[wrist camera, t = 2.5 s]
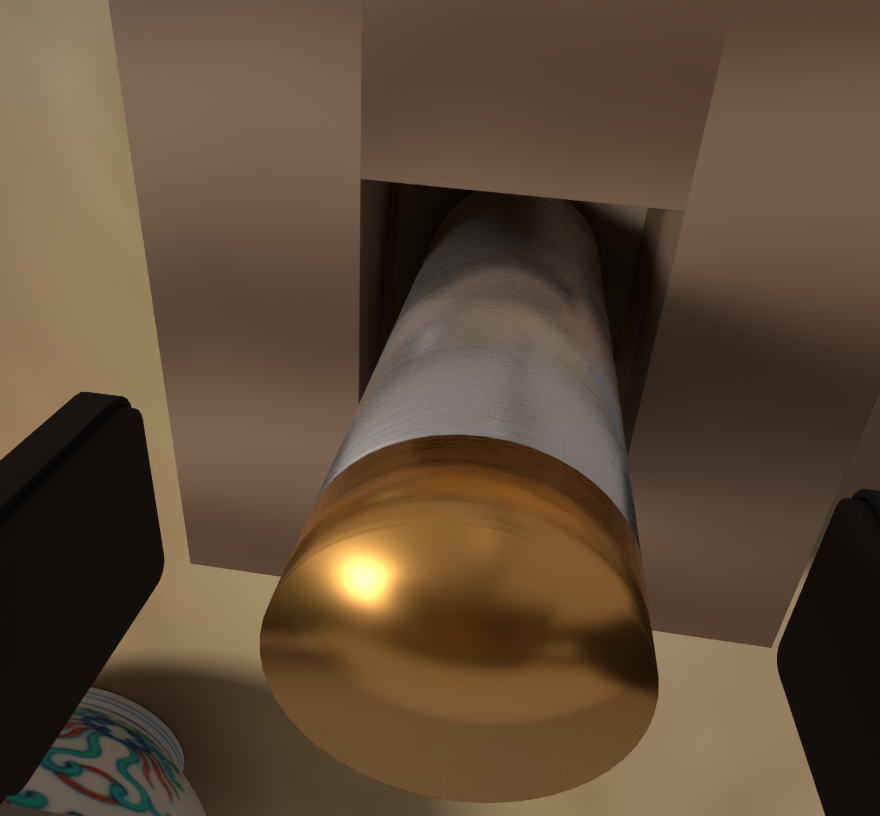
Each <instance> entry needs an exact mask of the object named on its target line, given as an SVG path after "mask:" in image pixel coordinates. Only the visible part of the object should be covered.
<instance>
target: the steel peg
mask: <svg viewBox="0 0 880 816" xmlns="http://www.w3.org/2000/svg"><path fill="white" fill-rule="evenodd" d="M260 655H261V661H262V667H263V671H264V674H265V677H266V679H267V682H268V685H269V688H270V689H271V691H272V693H273V695H274V697H275V699H276V701H277V702H278V704H279V705H280V707H281V708H282V710H283V711H284V712H285V714H286V715H287V716H288V718H289V719H290V720H291V721H292V722H293V723H294V725H295V726H296V727H297V728H298V729H299V730H300V731H301V732H302V733H303V734H304V735H305V736H306V737H307V738H309V739H310V740H311V741H312V742H313V743H314V744H315V745H317V746H318V747H319V748H320V749H322V750H323V751H325V752H326V753H327V754H329V755H330V756H332V757H333V758H335V759H336V760H338V761H339V762H341V763H343V764H345V765H346V766H348V767H350V768H351V769H353V770H355V771H357V772H359V773H361V774H363V775H366V776H368V777H370V778H372V779H374V780H377V781H379V782H382V783H385V784H387V785H390V786H393V787H395V788H398V789H402V790H405V791H409V792H412V793H416V794H420V795H425V796H429V797H434V798H439V799H446V800H454V801H462V802H480V803H496V802H514V801H523V800H531V799H536V798H541V797H545V796H550V795H554V794H557V793H561V792H564V791H567V790H570V789H573V788H575V787H578V786H580V785H582V784H585V783H587V782H589V781H592V780H593V779H595V778H597V777H598V776H600V775H602V774H604V773H605V772H607V771H609V770H610V769H611V768H613V767H614V766H615V765H616V764H618V763H619V762H620V761H622V760H623V759H624V758H625V757H626V756H627V755H628V754H629V753H630V752H631V751H632V750H633V749H634V748H635V747H636V746H637V744H638V743H639V741H640V740H641V738H642V737H643V735H644V734H645V732H646V731H647V729H648V727H649V725H650V722H651V720H652V718H653V715H654V713H655V708H656V704H657V699H658V678H659V677H658V670H657V663H656V656H655V649H654V642H653V635H652V628H651V621H650V613H649V606H648V599H647V592H646V585H645V578H644V571H643V564H642V557H641V550H640V543H639V535H638V528H637V521H636V514H635V507H634V500H633V493H632V486H631V479H630V472H629V465H628V458H627V450H626V443H625V436H624V429H623V422H622V415H621V408H620V401H619V394H618V387H617V380H616V372H615V365H614V358H613V351H612V344H611V337H610V330H609V323H608V316H607V309H606V302H605V295H604V287H603V280H602V273H601V266H600V259H599V253H598V247H597V243H596V240H595V237H594V234H593V232H592V230H591V228H590V226H589V224H588V223H587V221H586V220H585V218H584V217H583V215H582V214H581V213H580V212H579V211H578V210H577V208H576V207H575V206H573V205H572V204H571V203H570V202H569V201H568V200H566V199H558V198H548V197H538V196H528V195H518V194H507V193H497V192H487V191H477V192H475V193H473V194H471V195H469V196H468V197H466V198H465V199H463V200H462V201H461V202H459V203H458V204H457V205H456V206H455V207H454V208H453V209H452V210H451V211H450V212H449V213H448V215H447V216H446V217H445V218H444V220H443V221H442V223H441V225H440V227H439V228H438V230H437V232H436V235H435V237H434V239H433V241H432V244H431V246H430V248H429V250H428V252H427V255H426V257H425V259H424V261H423V264H422V266H421V268H420V270H419V272H418V275H417V277H416V279H415V281H414V283H413V286H412V288H411V290H410V292H409V295H408V297H407V299H406V301H405V303H404V306H403V308H402V310H401V312H400V315H399V317H398V319H397V321H396V323H395V326H394V328H393V330H392V332H391V335H390V337H389V339H388V341H387V343H386V346H385V348H384V350H383V352H382V354H381V357H380V359H379V361H378V363H377V366H376V368H375V370H374V372H373V374H372V377H371V379H370V381H369V383H368V386H367V388H366V390H365V392H364V394H363V397H362V399H361V401H360V403H359V406H358V408H357V410H356V412H355V414H354V417H353V419H352V421H351V423H350V425H349V428H348V430H347V432H346V434H345V437H344V439H343V441H342V443H341V445H340V448H339V450H338V452H337V454H336V457H335V459H334V461H333V463H332V465H331V468H330V470H329V472H328V474H327V477H326V479H325V481H324V483H323V485H322V488H321V490H320V492H319V494H318V496H317V499H316V501H315V503H314V505H313V508H312V510H311V512H310V514H309V516H308V519H307V521H306V523H305V525H304V528H303V530H302V532H301V534H300V536H299V539H298V541H297V543H296V545H295V548H294V550H293V552H292V554H291V556H290V559H289V561H288V563H287V565H286V567H285V570H284V572H283V574H282V576H281V579H280V581H279V583H278V585H277V587H276V590H275V592H274V594H273V596H272V599H271V601H270V603H269V606H268V608H267V611H266V613H265V615H264V618H263V623H262V628H261V633H260Z"/></svg>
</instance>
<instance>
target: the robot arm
mask: <svg viewBox="0 0 880 816" xmlns="http://www.w3.org/2000/svg"><path fill="white" fill-rule="evenodd" d="M163 568H164V553H163V546H162V540H161V533H160V527H159V520H158V514H157V508H156V501H155V495H154V488H153V482H152V475H151V469H150V463H149V456H148V450H147V443H146V437H145V431H144V424H143V419H142V415H141V413H140V411H139V410H137V409H135V408H131V404H130V403H129V401H128V399H126V398H125V397H123V396H115V395H107V394H99V393H91V392H80V393H79V394H77V395H75V396H74V397H73V398H72V399H71V400H70V401H68V402H67V403H66V404H65V405H64V406H63V407H61V408H60V409H59V410H58V411H57V412H56V413H55V414H53V415H52V416H51V417H50V418H49V419H48V420H47V421H45V422H44V423H43V424H42V425H41V426H40V427H38V428H37V429H36V430H35V431H34V432H33V433H32V434H30V435H29V436H28V437H27V438H26V439H25V440H23V441H22V442H21V443H20V444H19V445H18V446H17V447H15V448H14V449H13V450H12V451H11V452H10V453H8V454H7V455H6V456H5V457H4V458H3V459H2V460H0V816H74V815H68V814H62V813H56V812H50V811H44V810H38V809H32V808H26V807H19V806H12V805H5V804H2V803H3V801H4V800H5V798H6V797H7V796H11V797H12V796H14V795H17V794H18V793H19V792H20V791H21V790H23V788H24V787H25V786H26V784H27V783H28V782H29V780H30V779H31V777H32V775H33V774H34V772H35V771H36V769H37V768H38V766H39V765H40V763H41V762H42V760H43V759H44V757H45V756H46V754H47V753H48V751H49V750H50V748H51V746H52V745H53V743H54V742H55V740H56V739H57V737H58V736H59V734H60V733H61V731H62V730H63V728H64V727H65V725H66V724H67V722H68V720H69V719H70V717H71V716H72V714H73V713H74V711H75V710H76V708H77V707H78V705H79V704H80V702H81V701H82V699H83V698H84V696H85V694H86V693H87V691H88V690H89V688H90V687H91V685H92V684H93V682H94V681H95V679H96V678H97V676H98V675H99V673H100V672H101V670H102V669H103V667H104V665H105V664H106V662H107V661H108V659H109V658H110V656H111V655H112V653H113V652H114V650H115V649H116V647H117V646H118V644H119V643H120V641H121V639H122V638H123V636H124V635H125V633H126V632H127V630H128V629H129V627H130V626H131V624H132V623H133V621H134V620H135V618H136V617H137V615H138V613H139V612H140V610H141V609H142V607H143V606H144V604H145V603H146V601H147V600H148V598H149V597H150V595H151V594H152V592H153V591H154V589H155V588H156V586H157V584H158V583H159V581H160V578H161V576H162V572H163ZM777 666H778V672H779V676H780V679H781V682H782V685H783V688H784V691H785V694H786V697H787V700H788V703H789V706H790V709H791V712H792V715H793V718H794V721H795V725H796V728H797V731H798V734H799V737H800V740H801V743H802V746H803V749H804V752H805V755H806V758H807V761H808V764H809V767H810V770H811V773H812V776H813V779H814V782H815V785H816V788H817V792H818V795H819V798H820V801H821V804H822V807H823V810H824V813H825V816H880V491H876V490H868V489H862V490H859V491H857V492H856V493H855V494H854V495H853V497H852V499H850V498H844V499H842V500H841V501H840V502H839V503H838V505H837V506H836V508H835V511H834V513H833V516H832V518H831V520H830V523H829V525H828V528H827V530H826V532H825V535H824V537H823V540H822V542H821V545H820V547H819V549H818V552H817V554H816V557H815V559H814V561H813V564H812V566H811V569H810V571H809V574H808V576H807V578H806V581H805V583H804V586H803V588H802V590H801V593H800V595H799V598H798V600H797V603H796V605H795V607H794V610H793V612H792V615H791V617H790V620H789V622H788V624H787V627H786V629H785V632H784V634H783V636H782V639H781V641H780V644H779V647H778V653H777Z"/></svg>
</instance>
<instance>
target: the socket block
mask: <svg viewBox="0 0 880 816" xmlns="http://www.w3.org/2000/svg"><path fill="white" fill-rule="evenodd" d="M109 7H110V14H111V21H112V28H113V35H114V41H115V48H116V55H117V62H118V69H119V76H120V83H121V89H122V96H123V103H124V110H125V117H126V124H127V131H128V137H129V144H130V151H131V158H132V165H133V172H134V178H135V185H136V192H137V199H138V206H139V213H140V220H141V226H142V233H143V240H144V247H145V254H146V261H147V267H148V274H149V281H150V288H151V295H152V302H153V309H154V315H155V322H156V329H157V336H158V343H159V350H160V356H161V363H162V370H163V377H164V384H165V391H166V398H167V404H168V411H169V418H170V425H171V432H172V439H173V445H174V452H175V459H176V466H177V473H178V480H179V487H180V493H181V500H182V507H183V514H184V521H185V528H186V534H187V541H188V548H189V555H190V562H191V564H198V565H205V566H212V567H219V568H226V569H232V570H239V571H246V572H253V573H260V574H267V575H274V576H282V574H283V572H284V570H285V567H286V565H287V563H288V561H289V559H290V556H291V554H292V552H293V550H294V548H295V545H296V543H297V541H298V539H299V536H300V534H301V532H302V530H303V528H304V525H305V523H306V521H307V519H308V516H309V514H310V512H311V510H312V508H313V505H314V503H315V501H316V499H317V496H318V494H319V492H320V490H321V488H322V485H323V483H324V481H325V479H326V477H327V474H328V472H329V470H330V468H331V465H332V463H333V461H334V459H335V457H336V454H337V452H338V450H339V448H340V445H341V443H342V441H343V439H344V437H345V434H346V432H347V430H348V428H349V425H350V423H351V421H352V419H353V417H354V414H355V412H356V410H357V408H358V406H359V403H360V401H361V399H362V397H363V394H364V392H365V390H366V388H367V386H368V383H369V381H370V379H371V377H372V374H373V372H374V370H375V368H376V366H377V363H378V361H379V359H380V357H381V354H382V352H383V350H384V348H385V346H386V343H387V341H388V339H389V337H390V335H391V332H392V330H393V328H394V324H395V295H396V266H397V237H398V208H399V183H407V184H417V185H427V186H437V187H447V188H457V189H467V190H477V191H487V192H497V193H507V194H518V195H528V196H538V197H548V198H558V199H568V200H578V201H588V202H598V203H608V204H618V205H628V206H638V207H648V210H647V215H646V220H645V225H644V229H643V234H642V239H641V244H640V249H639V253H638V258H637V263H636V268H635V273H634V278H633V282H632V287H631V292H630V297H629V302H628V306H627V311H626V316H625V321H624V326H623V330H622V335H621V340H620V345H619V350H618V355H617V359H616V364H615V372H616V380H617V387H618V394H619V401H620V408H621V415H622V422H623V429H624V436H625V443H626V450H627V458H628V465H629V472H630V479H631V486H632V493H633V500H634V507H635V514H636V521H637V528H638V535H639V543H640V550H641V557H642V564H643V571H644V578H645V585H646V592H647V599H648V606H649V613H650V621H651V628H652V630H653V631H660V632H667V633H674V634H680V635H687V636H694V637H701V638H708V639H715V640H722V641H729V642H736V643H742V644H749V645H756V646H763V647H770V648H771V647H772V645H773V643H774V640H775V638H776V636H777V633H778V631H779V629H780V626H781V624H782V621H783V619H784V617H785V614H786V612H787V610H788V607H789V605H790V603H791V600H792V598H793V595H794V593H795V591H796V588H797V586H798V584H799V581H800V579H801V576H802V574H803V572H804V569H805V567H806V565H807V562H808V560H809V558H810V555H811V553H812V550H813V548H814V546H815V543H816V541H817V539H818V536H819V534H820V532H821V529H822V527H823V524H824V522H825V520H826V517H827V515H828V513H829V510H830V508H831V506H832V503H833V501H834V498H835V496H836V494H837V491H838V489H839V487H840V484H841V482H842V480H843V477H844V475H845V472H846V470H847V468H848V465H849V463H850V461H851V458H852V456H853V453H854V451H855V449H856V446H857V444H858V442H859V439H860V437H861V435H862V432H863V430H864V427H865V425H866V423H867V420H868V418H869V416H870V413H871V411H872V409H873V406H874V404H875V401H876V399H877V397H878V394H879V392H880V0H109Z"/></svg>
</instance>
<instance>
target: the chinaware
mask: <svg viewBox="0 0 880 816" xmlns="http://www.w3.org/2000/svg"><path fill="white" fill-rule="evenodd" d="M183 768H184V755H183V751H182V748H181V746H180V744H179V742H178V740H177V738H176V737H175V735H174V734H173V733H172V731H171V730H170V729H169V728H168V727H167V726H166V725H165V724H164V723H163V722H162V721H161V720H160V719H159V718H158V717H156V716H155V715H154V714H153V713H151V712H150V711H148V710H147V709H145V708H144V707H142V706H141V705H139V704H137V703H135V702H133V701H131V700H129V699H127V698H125V697H123V696H120V695H118V694H115V693H112V692H109V691H106V690H102V689H98V688H93V687H90V688H89V690H88V691H87V693H86V694H85V696H84V698H83V699H82V701H81V702H80V704H79V705H78V707H77V708H76V710H75V711H74V713H73V714H72V716H71V717H70V719H69V720H68V722H67V724H66V725H65V727H64V728H63V730H62V731H61V733H60V734H59V736H58V737H57V739H56V740H55V742H54V743H53V745H52V746H51V748H50V750H49V751H48V753H47V754H46V756H45V757H44V759H43V760H42V762H41V763H40V765H39V766H38V768H37V769H36V771H35V772H34V774H33V775H32V777H31V779H30V780H29V782H28V783H27V784H26V786H25V787H24V788H23V790H21V791H20V792H19V793H18V794H17V795H14V796H12V797H11V796H7V797H6V798H5V800H4V801H3V803H2V804H5V805H12V806H19V807H26V808H32V809H38V810H44V811H50V812H56V813H62V814H68V815H74V816H206V814H205V812H204V809H203V807H202V805H201V803H200V801H199V799H198V797H197V795H196V793H195V792H194V790H193V788H192V787H191V785H190V783H189V782H188V780H187V779H186V777H185V776H184V775H183V773H182V772H183Z"/></svg>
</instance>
